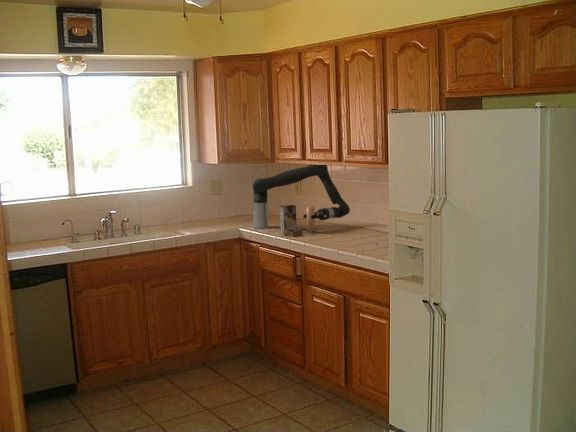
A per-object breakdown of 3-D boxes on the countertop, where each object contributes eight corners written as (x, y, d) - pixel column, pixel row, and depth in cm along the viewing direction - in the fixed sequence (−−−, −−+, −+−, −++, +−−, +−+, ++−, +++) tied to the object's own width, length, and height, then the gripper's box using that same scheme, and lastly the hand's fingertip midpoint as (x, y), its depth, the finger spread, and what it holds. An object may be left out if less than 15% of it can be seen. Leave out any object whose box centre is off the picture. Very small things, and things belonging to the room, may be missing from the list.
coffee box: (293, 228, 450) (292, 204, 447) (296, 229, 444) (296, 205, 442) (280, 229, 446) (279, 205, 444) (283, 231, 440) (283, 206, 438)
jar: (305, 232, 430) (304, 207, 428) (310, 231, 433) (310, 206, 431) (310, 232, 426) (310, 207, 424) (316, 231, 429) (315, 206, 428)
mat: (300, 233, 430) (300, 232, 429) (310, 231, 436) (310, 230, 436) (311, 234, 423) (311, 233, 423) (320, 232, 429) (320, 231, 429)
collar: (283, 235, 423) (283, 230, 422) (293, 233, 428) (292, 229, 428) (293, 236, 417) (292, 232, 416) (302, 235, 423) (302, 230, 422)
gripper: (317, 207, 443) (299, 210, 431) (333, 208, 432) (315, 211, 421) (317, 218, 444) (299, 221, 432) (334, 220, 433) (316, 223, 422)
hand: (307, 216), depth 426 cm, fingers open, 6 cm apart
